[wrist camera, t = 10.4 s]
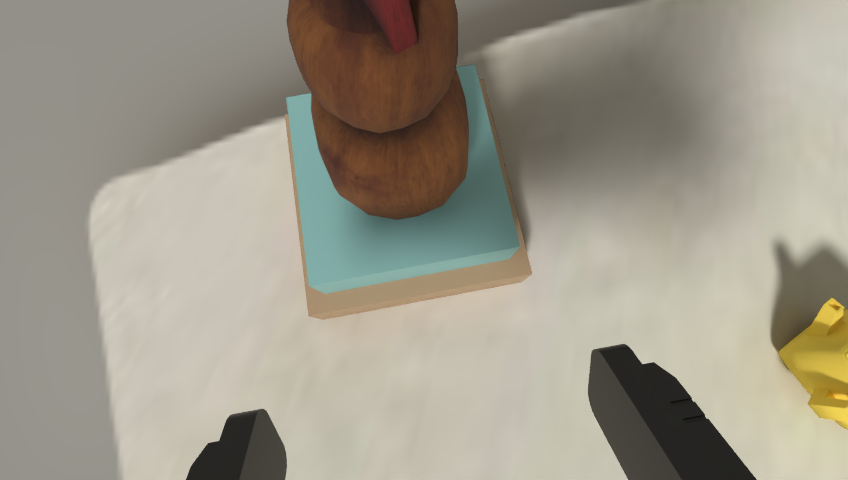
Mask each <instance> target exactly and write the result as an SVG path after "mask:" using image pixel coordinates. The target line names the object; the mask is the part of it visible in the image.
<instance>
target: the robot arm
mask: <svg viewBox="0 0 848 480" xmlns="http://www.w3.org/2000/svg"><path fill="white" fill-rule="evenodd" d="M588 396H589V401H590V405H591V408H592V411H593V413H594V416H595V418H596V420H597V421H598V423H599V425H600V427H601V429H602V431H603V433H604V435H605V437H606V438H607V440H608V442H609V444H610V446H611V448H612V450H613V452H614V454H615V455H616V457H617V459H618V461H619V463H620V465H621V467H622V469H623V470H624V472H625V474H626V476H627V478H628V480H756V478H755V477H754V476H753V475H752V473H751V472H750V471H749V470H748V468H747V467H746V466H745V465H744V463H743V462H742V461H741V459H740V458H739V457H738V456H737V454H736V453H735V452H734V451H733V449H732V448H731V447H730V446H729V444H728V443H727V442H726V441H725V439H724V438H723V437H722V436H721V434H720V433H719V432H718V430H717V429H716V428H715V427H714V425H713V424H712V423H711V422H710V420H709V419H706V417H705V414H704V413H703V412H702V410H701V409H700V408H699V407H698V405H697V404H696V403H695V402H693V401H692V398H691V396H690V395H689V394H688V393H687V391H686V390H685V389H684V388H683V386H682V385H681V384H680V383H679V381H678V380H677V379H676V378H675V377H674V376H672V375H671V374H670V373H668V372H667V371H665V370H664V369H662V368H661V367H660V366H658V365H657V364H655V363H654V362H653V363H647V364H642V363H641V362H640V361H639V359H638V358H637V357H636V355H635V354H634V352H633V351H632V350H631V349H630V348H629V347H628V346H627V345H625V344H621V345H615V346H610V347H604V348H599V349H594V350H593V351H592V354H591V363H590V374H589V384H588ZM286 468H287V459H286V451H285V447H284V445H283V443H282V441H281V439H280V437H279V435H278V433H277V431H276V429H275V427H274V425H273V423H272V421H271V419H270V417H269V415H268V413H267V411H266V410H264V409H259V410H253V411H248V412H242V413H237V414H232V415H230V416H229V417H228V419H227V420H226V423H225V426H224V429H223V432H222V435H221V437H220V440H219V441H217V442H212V443H208V444H207V445H206V447H205V448H204V449H203V451H202V452H201V454H200V455H199V456H198V458H197V459H196V460H195V462H194V463H193V464H192V466H191V468H190V470H189V473H188V476H187V478H186V480H285V476H286Z"/></svg>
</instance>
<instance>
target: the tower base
mask: <svg viewBox="0 0 848 480" xmlns="http://www.w3.org/2000/svg"><path fill="white" fill-rule="evenodd" d="M456 70H457V72H458V75H459V78H460V82H461V85H462V89H463V92H464V95H465V99H466V106H467V114H468V123H469V148H468V168H467V173H466V178H465V179H464V181H463V182H462V183H461V184H460V185H459V187H458V188H457V189H456V190H455V192H454V193H453V194H452V195H451V196H450V198H449V199H448V200H447V201H446V202H445V204H444V205H443V206H441V207H438V208H436V209H434V210H431V211H429V212H427V213H425V214H422V215H420V216H416V217H410V218H405V219H399V220H395V219H389V218H384V217H378V216H372V215H368V214H367V213H365V212H364V211H362V210H361V209H359V208H358V207H356V206H355V205H354V204H352V203H351V202H349V201H348V200H346V199H344V198H343V197H341V196H340V195H339V194H338V192H337V191H336V189H335V188H334V185H333V183H332V181H331V179H330V176H329V174H328V172H327V169H326V167H325V165H324V162H323V160H322V157H321V155H320V152H319V149H318V145H317V140H316V135H315V130H314V125H313V120H312V114H311V93H310V94H304V95H299V96H293V97H287V98H286V100H287V108H288V114H285V120H286V128H287V137H288V145H289V153H290V162H291V170H292V179H293V187H294V196H295V204H296V213H297V221H298V230H299V238H300V247H301V255H302V264H303V272H304V281H305V289H306V297H307V306H308V314H309V316H310V317H314V318H319V319H329V318H334V317H339V316H345V315H350V314H355V313H360V312H366V311H371V310H376V309H381V308H387V307H392V306H397V305H403V304H408V303H413V302H418V301H424V300H429V299H434V298H439V297H445V296H450V295H455V294H460V293H466V292H471V291H476V290H482V289H487V288H492V287H497V286H503V285H508V284H513V283H518V282H522V281H523V280H524V279H526V278H527V277H528V276H530V275H531V274H532V271H531V267H530V263H529V259H528V255H527V251H526V247H525V243H524V240H523V236H522V232H521V228H520V224H519V220H518V216H517V212H516V208H515V204H514V200H513V196H512V192H511V188H510V184H509V180H508V176H507V172H506V168H505V164H504V160H503V156H502V152H501V148H500V144H499V140H498V136H497V132H496V128H495V124H494V120H493V116H492V112H491V109H490V105H489V101H488V97H487V93H486V89H485V85H484V81H483V79H481V80H479V78H478V74H477V70H476V66H475V64H473V65H467V66H461V67H456Z"/></svg>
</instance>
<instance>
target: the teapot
mask: <svg viewBox="0 0 848 480" xmlns="http://www.w3.org/2000/svg"><path fill="white" fill-rule="evenodd" d="M844 308H845V307H844V306H842V305H841V304H840V303H839V302H837V301H836V300H835V299H834V298H831V299H829V300H828V301H827V302H826V303H824V304H823V306H822V308H821V309H820V311H819V313H818V314H817V316H816V318H815V319H814V321H813V323H812V324H811V325H810V326H808V327H807V328H806V329H805V330H803V331H802V332H801V333H800V334H799V335H797V336H796V337H795V338H794V339H793V340H791V341H790V342H789V343H788V344H787V345H785V346H784V347H783V348H782V349H781V350H780V351H779V355H780V357H781V359H782V360H783V361H784V363H785V366H786V367H787V368H788V369H789V370H790V371H791V372H792V373H793V374H794V376H795V377H796V378H797V379H798V381H799V382H800V383H801V384H802V386H803V387H804V388H805V389H806V390H807V392H808V393H809V394H810V395H811V398H810V400H809V402H808V405H809V406H810V407H811V408H812V409H813V411H814V412H815V413H816V414H817V415H818V416H819V418H824V419H831V420H835V421H836V422H837V423H838V424H839V425H840V426H842V427H843V428H845V429H848V309H844Z"/></svg>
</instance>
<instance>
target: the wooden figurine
mask: <svg viewBox="0 0 848 480" xmlns="http://www.w3.org/2000/svg"><path fill="white" fill-rule="evenodd" d="M287 26H288V33H289V40H290V43H291V46H292V49H293V52H294V56H295V59H296V62H297V64H298V67H299V69H300V72H301V74H302V76H303V79H304V81H305V82H306V84H307V86H308V87H309V89H310V91H311V114H312V120H313V125H314V130H315V135H316V140H317V145H318V149H319V152H320V155H321V157H322V160H323V162H324V165H325V167H326V169H327V172H328V174H329V176H330V179H331V181H332V183H333V185H334V188H335V189H336V191H337V192H338V194H339V195H340V196H341V197H343V198H344V199H346V200H348V201H349V202H351V203H352V204H354V205H355V206H356V207H358V208H359V209H361V210H362V211H364V212H365V213H367V214H368V215H372V216H378V217H384V218H389V219H395V220H399V219H405V218H410V217H416V216H420V215H422V214H425V213H427V212H429V211H431V210H434V209H436V208H438V207H441V206H443V205H444V204H445V202H446V201H447V200H448V199H449V198H450V196H451V195H452V194H453V193H454V192H455V190H456V189H457V188H458V187H459V185H460V184H461V183H462V182H463V181H464V179H465V178H466V173H467V168H468V148H469V123H468V114H467V106H466V99H465V95H464V92H463V89H462V85H461V82H460V78H459V75H458V72H457V70H456V62H457V56H458V18H457V9H456V5H455V1H454V0H289V8H288V15H287Z"/></svg>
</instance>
